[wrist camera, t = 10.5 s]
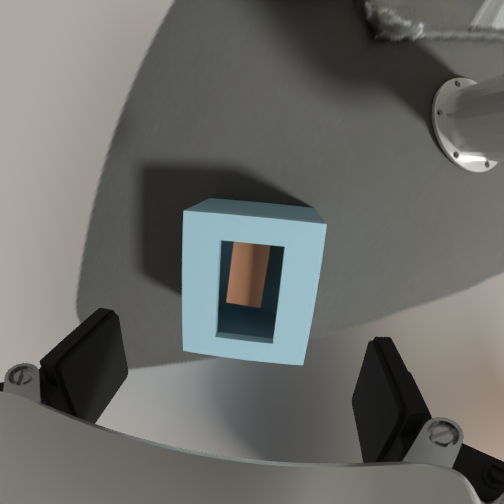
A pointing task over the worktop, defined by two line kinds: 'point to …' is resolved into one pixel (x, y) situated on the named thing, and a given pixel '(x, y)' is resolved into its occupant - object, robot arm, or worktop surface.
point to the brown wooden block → (247, 273)
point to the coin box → (275, 287)
